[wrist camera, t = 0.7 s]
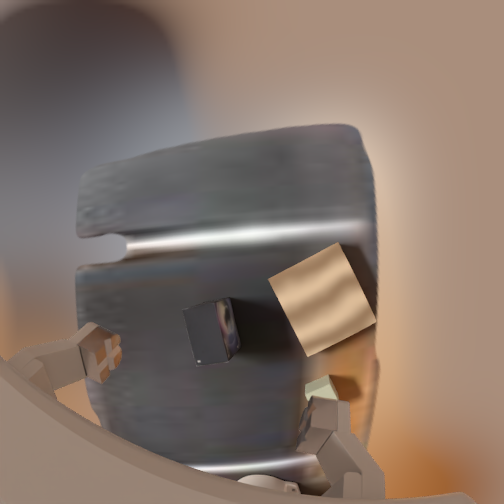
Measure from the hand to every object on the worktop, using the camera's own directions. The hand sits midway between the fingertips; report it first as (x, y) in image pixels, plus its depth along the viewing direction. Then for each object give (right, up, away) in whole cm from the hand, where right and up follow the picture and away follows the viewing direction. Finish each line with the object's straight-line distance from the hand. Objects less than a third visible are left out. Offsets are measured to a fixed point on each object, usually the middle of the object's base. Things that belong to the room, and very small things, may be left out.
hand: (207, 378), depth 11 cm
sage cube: (+16, -23, +43) cm, 51 cm away
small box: (-4, -10, +47) cm, 49 cm away
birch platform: (+15, -4, +44) cm, 46 cm away
